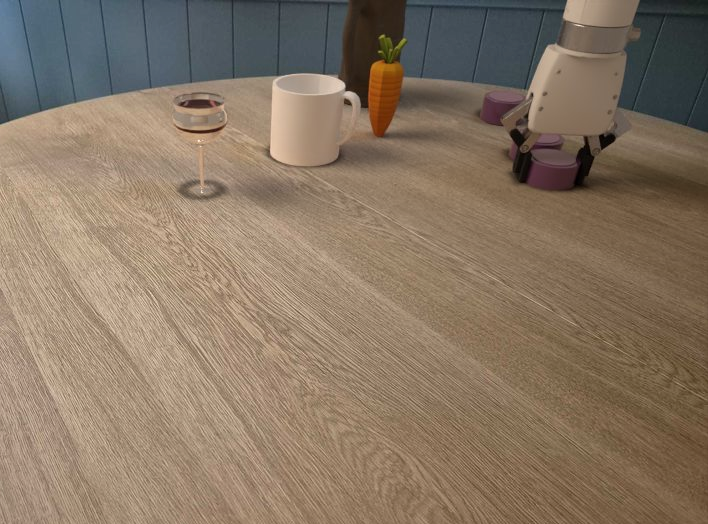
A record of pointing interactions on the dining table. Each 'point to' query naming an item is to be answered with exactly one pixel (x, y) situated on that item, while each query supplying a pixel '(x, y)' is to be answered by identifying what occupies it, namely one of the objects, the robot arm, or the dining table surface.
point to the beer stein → (368, 40)
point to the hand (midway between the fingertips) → (547, 178)
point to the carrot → (385, 86)
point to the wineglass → (200, 122)
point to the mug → (309, 118)
